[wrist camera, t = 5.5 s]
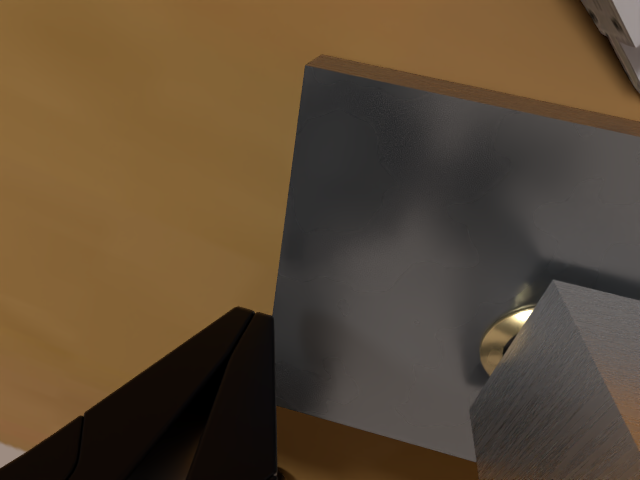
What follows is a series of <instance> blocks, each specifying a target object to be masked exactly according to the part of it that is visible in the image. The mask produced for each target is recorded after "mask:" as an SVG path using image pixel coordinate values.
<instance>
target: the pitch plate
mask: <svg viewBox="0 0 640 480" xmlns="http://www.w3.org/2000/svg"><path fill="white" fill-rule="evenodd" d="M553 279H554V280H558V281H562V282H566V283H570V284H574V285H578V286H582V287H586V288H590V289H594V290H599V291H603V292H607V293H611V294H615V295H619V296H623V297H627V298H631V299H635V300H639V301H640V122H638V121H633V120H629V119H624V118H619V117H615V116H610V115H605V114H600V113H596V112H591V111H586V110H581V109H577V108H572V107H567V106H563V105H558V104H553V103H548V102H544V101H539V100H534V99H530V98H525V97H520V96H515V95H511V94H506V93H501V92H496V91H492V90H487V89H482V88H478V87H473V86H468V85H463V84H459V83H454V82H449V81H444V80H440V79H435V78H430V77H426V76H421V75H416V74H411V73H407V72H402V71H397V70H392V69H388V68H383V67H378V66H374V65H369V64H364V63H359V62H355V61H350V60H345V59H340V58H336V57H331V56H326V55H320V56H318V57H317V58H315V59H314V60H312V61H311V62H309V63H308V64H306V65H305V71H304V78H303V86H302V94H301V101H300V109H299V117H298V124H297V132H296V139H295V147H294V155H293V162H292V170H291V178H290V185H289V193H288V201H287V208H286V216H285V224H284V231H283V239H282V246H281V254H280V262H279V269H278V277H277V285H276V292H275V300H274V308H273V315H272V316H273V317H274V327H275V375H276V406H280V407H283V408H287V409H290V410H294V411H298V412H301V413H305V414H308V415H312V416H315V417H319V418H322V419H326V420H329V421H333V422H336V423H340V424H343V425H347V426H350V427H354V428H357V429H361V430H364V431H368V432H371V433H375V434H378V435H382V436H385V437H389V438H393V439H396V440H400V441H403V442H407V443H410V444H414V445H417V446H421V447H424V448H428V449H431V450H435V451H438V452H442V453H445V454H449V455H452V456H456V457H459V458H463V459H466V460H470V461H473V462H476V455H475V448H474V441H473V434H472V427H471V420H470V413H469V408H470V407H471V405H472V404H473V402H474V400H475V399H476V397H477V396H478V394H479V393H480V391H481V390H482V388H483V387H484V385H485V383H486V382H487V380H488V379H489V377H490V376H491V374H492V373H493V371H494V370H495V368H496V366H497V365H498V363H499V362H500V360H501V359H502V357H503V356H504V354H505V353H506V351H507V349H508V348H509V346H510V345H511V343H512V342H513V340H514V339H515V337H516V336H517V334H518V332H519V331H520V329H521V328H522V326H523V325H524V323H525V322H526V320H527V319H528V317H529V315H530V314H531V312H532V311H533V309H534V308H535V306H536V305H537V303H538V302H539V300H540V298H541V297H542V295H543V294H544V292H545V291H546V289H547V288H548V286H549V285H550V283H551V281H552V280H553Z"/></svg>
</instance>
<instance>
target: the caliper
mask: <svg viewBox="0 0 640 480" xmlns="http://www.w3.org/2000/svg"><path fill="white" fill-rule="evenodd" d="M581 2H582V3H583V5H584V6H585V8H586V10H587V11H588V13H589V14H590V16H591V18H592V19H593V21H594V23H595V24H596V26H597V27H598V29H599V31H600V32H601V34H603V35H605V36H607V37H608V39H609V41H610V43H611V44H612V46H613V48H614V50H615V52H616V54H617V56H618V58H619V60H620V62H621V64H622V66H623V68H624V70H625V72H626V74H627V75H628V77H629V79H630V81H631V82H632V84H633V86H634V87H635V89H636V90H637V91H638V92H639V93H640V0H581Z"/></svg>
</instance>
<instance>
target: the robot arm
mask: <svg viewBox="0 0 640 480" xmlns="http://www.w3.org/2000/svg"><path fill="white" fill-rule="evenodd" d="M0 480H285V477H284V475H283V474H282V473H280V472H278V470H277V422H276V375H275V327H274V317H273V316H271V315H267V314H264V313H260V312H256V313H255V312H254V311H253V310H250V309H246V308H243V307H235V308H233V309H232V310H230V311H229V312H227V313H226V314H225V315H223V316H222V317H220V318H219V319H217V320H216V321H215V322H213V323H212V324H210V325H209V326H207V327H206V328H205V329H203V330H202V331H200V332H199V333H197V334H196V335H195V336H193V337H192V338H190V339H189V340H187V341H186V342H185V343H183V344H182V345H180V346H179V347H177V348H176V349H175V350H173V351H172V352H170V353H169V354H167V355H166V356H165V357H163V358H162V359H160V360H159V361H157V362H156V363H155V364H153V365H152V366H150V367H149V368H147V369H146V370H145V371H143V372H142V373H140V374H139V375H137V376H136V377H135V378H133V379H132V380H130V381H129V382H127V383H126V384H125V385H123V386H122V387H120V388H119V389H117V390H116V391H115V392H113V393H112V394H110V395H109V396H107V397H106V398H105V399H103V400H102V401H100V402H99V403H97V404H96V405H95V406H93V407H92V408H90V409H89V410H87V411H86V412H85V413H84V417H83V416H78V417H77V418H76V419H74V420H73V421H71V422H70V423H69V424H67V425H66V426H64V427H63V428H61V429H60V430H59V431H57V432H56V433H54V434H53V435H51V436H50V437H48V438H47V439H45V440H44V441H42V442H41V443H39V444H38V445H36V446H35V447H33V448H32V449H30V450H29V451H27V452H26V453H24V454H23V455H21V456H20V457H18V458H16V459H15V460H13V461H11V462H10V463H8V464H7V465H5V466H3V467H2V468H0Z"/></svg>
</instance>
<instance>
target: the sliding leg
mask: <svg viewBox="0 0 640 480" xmlns="http://www.w3.org/2000/svg"><path fill="white" fill-rule="evenodd" d="M469 413H470V420H471V427H472V434H473V441H474V448H475V455H476V462H477V469H478V476H479V480H640V301H639V300H635V299H631V298H627V297H623V296H619V295H615V294H611V293H607V292H603V291H599V290H594V289H590V288H586V287H582V286H578V285H574V284H570V283H566V282H562V281H558V280H554V279H553V280H552V281H551V283H550V285H549V286H548V288H547V289H546V291H545V292H544V294H543V295H542V297H541V298H540V300H539V302H538V303H537V305H536V306H535V308H534V309H533V311H532V312H531V314H530V315H529V317H528V319H527V320H526V322H525V323H524V325H523V326H522V328H521V329H520V331H519V332H518V334H517V336H516V337H515V339H514V340H513V342H512V343H511V345H510V346H509V348H508V349H507V351H506V353H505V354H504V356H503V357H502V359H501V360H500V362H499V363H498V365H497V366H496V368H495V370H494V371H493V373H492V374H491V376H490V377H489V379H488V380H487V382H486V383H485V385H484V387H483V388H482V390H481V391H480V393H479V394H478V396H477V397H476V399H475V400H474V402H473V404H472V405H471V407H470V408H469Z"/></svg>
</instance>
